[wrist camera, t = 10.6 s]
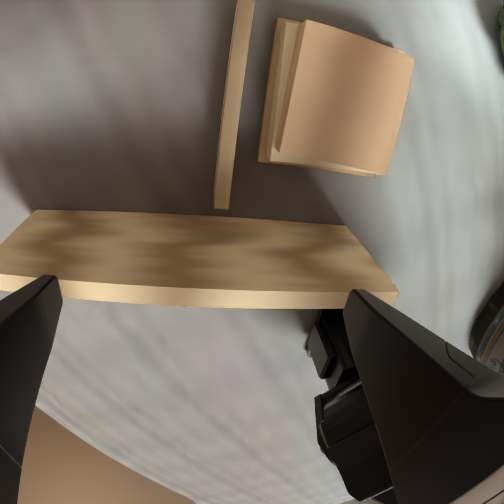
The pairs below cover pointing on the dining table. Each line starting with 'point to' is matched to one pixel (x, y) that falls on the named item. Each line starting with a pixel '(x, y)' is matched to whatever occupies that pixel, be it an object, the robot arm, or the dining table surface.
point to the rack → (196, 243)
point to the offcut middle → (281, 79)
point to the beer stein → (490, 334)
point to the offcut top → (343, 99)
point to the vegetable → (503, 20)
